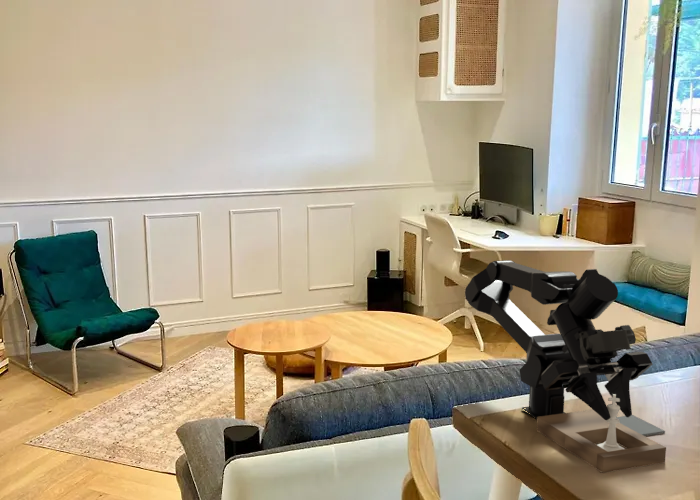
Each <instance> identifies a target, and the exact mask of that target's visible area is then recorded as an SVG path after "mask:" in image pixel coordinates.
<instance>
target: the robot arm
mask: <svg viewBox="0 0 700 500" xmlns="http://www.w3.org/2000/svg"><path fill="white" fill-rule="evenodd" d="M513 286H514V287H516V288H520V289H522V290H525V291H528V292H529V293H530V296H531V298H532V299H534V301H536V302H538V303H539V304H541V305H545V306H546V305H557V307H556V308H555V309H550V311H549V316H548V318H547V322H546V324H547V325H548V326H554V325H555V326H556V327H557V329H558V332H559V333H552V334H551V333H550V334H545V333H544V332H543V331H542V330H541V329H540V328H539V327H538V326H537V325H536V324H535V323H534V322H533V321H532V320H531V319H530V318H528V317H527V315H526V314H524V312H523V311H522V310H521V309H520V308H519V307H518V306H516V305H515V303H513V301H512V300H511V299H510V294H511V292H512V291H513V289H514V287H513ZM464 293H465V294H464V297H465V299H466V301H467V303H468V304H469V306H470V307H472V308H473V309H474V310H476V311H477V312H480V313H483V314H486V315H489V316H491V317H492V318H493V319H494V320H495V321H496V322H497V323H498V324H499V325H500V326H501V327H502V329H504V330H505V331H506V333H507V334H508V335H509V336H510V337H511V338H512V339H513V340H514V341H515V342H516V344H518V345H519V347H520V348H521V349H522V350H523V351H524V352H525V354H526V362H525V363H524V365H522V366H521V368H519V375H520V376H519V377H520V381H521V382H522V383H523V384H525V385H527V386H529V398H528V406H525V407H524V406H522V407H521V410H522V409H524V408H526V409H524V410H525V411H527V412H528V413H530V414H531V415H532V416H533V417H532V416H531V417H532V418H534V417H535V418H536V419H535V418H534V419H535V420H537V417H540V416H547V415H555V414H562V413H566V412H565V392H566V393H570V394H573V395H574V396H575V397H576V398H578V399H579V400H581V401H582V402H583V403H585V404H586V405H587V406H588V407H589V408H591V410H594V411H595V412H596V413H597V414H599V415H600V416H601V417H602V418H603V419H604V420H609V419H610V414H609V411H608V408H607V403H606V401H605V400H604V397H603V395H602V392H601V390H600V388H599V385H598V376H605V378H606V380H607V382H606V383H605V384H604V388H605V389H606V390H607V392H608V394H609V395H610V398H613V394H616V398H619V399H620V402H616V403H615V404H616V405H618V406H620V410H619V411H621V412H622V414H623V416H626V417H630V416H631V415H633V411H632V410H633V409H632V403H631V402H632V401H631V394H630V381H634V380H636V379H637V378H639V377H641V375H642V374H644V373H645V371H647V370H648V369H649V368H650V367H652V366H653V365H654V364H653V362H652V360H651V358H650V357H649V354H648V353H647V352H644V351H634V352H625V353H624V354H623V355H621V357H620V358H618V360H616V361H612V359H615V358H616V357H617V356H618V355H619V354H618V351H622V350H626V351H628V350H631V345H633V344H635V343H636V341H637V339H636V335H635V332H634V330H633V329H632V327H631V326H630V325H629V324H625V325H620V326H615V328H614V330H607V331H606V330H602V329H600V328H599V329H596V327H595V326H594V323H593V322H592V320H596V319H598V318H599V317H600V316H601V315H602V314H603V313H604V312H605V311H606V309H608V308H609V307H610V306H611V305H612V303H614V301H616V299H617V298H618V296H619V291H618V287H617V285H616V283H615V282H612V280H611V279H610V278H608V277H606V276H605V275H603V274H599V272H598V270H597V268H593V269H592V268H590V269H588V268H587V269H586V270H584V272H583V273H582V274H581V276H580V277H579V278H578V276H577V275H576V274H575V273H574V272H573V271H564V270H563V271H562V270H561V271H543V270H541V269H537V268H533V267H531V266H527V265H523V264H520V263H517V262H515V261H512V260H509V259H508V260H504V259H503V260H493V261H492V262H491V261H490V262H489V263H488V264H487V266H486V268H484V269H483V270H481V271H480V272H478V273H477V274H476V275H474V276H473V277H472V278H471V279H470V281H469V282H468V284H467V285H466V287H465V289H464ZM564 385H565V386H566V385H568V386H567V387H566V388H565V386H564Z"/></svg>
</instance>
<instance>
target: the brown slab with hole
mask: <svg viewBox="0 0 700 500" xmlns="http://www.w3.org/2000/svg"><path fill="white" fill-rule="evenodd" d="M608 429H609V423H608V422H607V421H606V420H604V419H603V418H602V417H601V416H600V415H599V414H597V413H596V412H595V411H594V410H593V409H588V410H587V409H585V410H578V411H572V412H571V411H570V412H565V413H562V414H555V415H547V416H540V417H537V419H536V431H537V432H538V433H540V434H542V435H543V436H544V437H546V438H547V439H549V440H550V441H553V443H556V444H557V445H559V446H560V447H561V448H563V449H565V450H566V451H569V452H570V453H571V454H572V455H574V456H576V457H577V458H579V459H580V460H582V461H584V462H585V463H587V464H589V466H591V467H593V468H594V469H596V470H597V471H600V473H602V474H605V473H609V472H610V473H611V472H615V471H622V470H627V469H629V470H630V469H635V468H639V467H645V466H651V465H657V464H658V465H659V464H663V463H666V456H667V455H666V453H667V446H665V445H663V444H661V443H658V442H656V441H655V440H653V439H651V438H649V437H648V436H643V435H642V434H640V433H638V432H636V431H634V430H632V429H630V428H628V427H626V426H624V425H622V424H621V423H618V424H616V440H617V443H618V444H619V446H621V447H623V448H624V449H622V450H616V451H610V452H607V451H606V450H604V449H602V448H601V447H599V446H597V445H598V444H601V443H604V442H605V441H606V438H607V434H608Z"/></svg>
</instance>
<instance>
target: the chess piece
mask: <svg viewBox="0 0 700 500" xmlns="http://www.w3.org/2000/svg"><path fill="white" fill-rule="evenodd" d="M607 400H608V401H609V402H611V403H608V404H606V406H607V408H608V411H609V414H610V419H609V420H606V421H607V422H608V423H609V429H608V434H607V438H606V441H605V442H603V443H597V444H596V445H597V446H599V447H601V448H602V449H604V450H606V451H607V452H610V451H616V450H622V449H625V447H624V446H622V445H620V444H619V443H617V440H616V424H618V423H620V421H619V419H617V418H616V417H618V414H619V413H620V411H621V410H620V406H618V405H617V404H616V402H620V399H619V398H616V394H613V398H612V397H608V399H607Z"/></svg>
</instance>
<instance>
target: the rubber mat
mask: <svg viewBox="0 0 700 500" xmlns="http://www.w3.org/2000/svg"><path fill="white" fill-rule="evenodd" d="M616 418H617V419H619V421H620V423H621V424H622V425H624V426H626V427H628V428H630V429H632V430H634V431H636V432H638V433H640V434H642V435H643V436H645V437H648V436H649V437H650V436H655V435H656V436H657V435H661V434H665V433H666V430H664V429H662V428H660V427H658V426H656V425H654V424H652V423H650V422H648V421H647V420H645V419H643V418H640V417H638V416H636V415H634V414H632V415H631V416H630V417H626V416H625V415H622V416H617V417H616Z"/></svg>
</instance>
